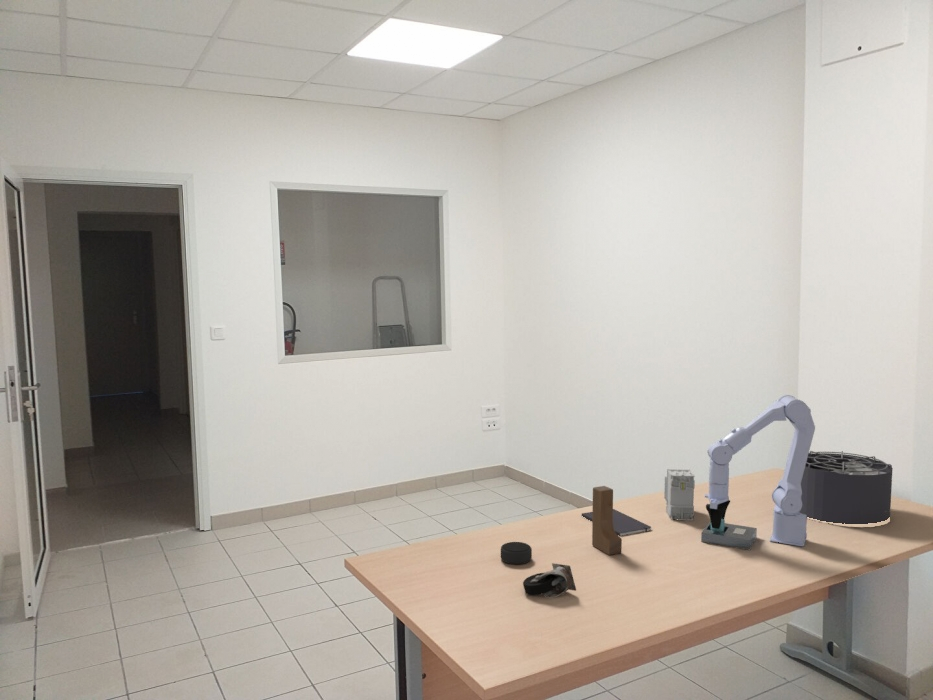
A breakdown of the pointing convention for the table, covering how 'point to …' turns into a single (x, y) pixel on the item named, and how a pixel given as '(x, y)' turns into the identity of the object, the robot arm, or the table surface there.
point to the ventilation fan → (846, 488)
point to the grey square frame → (730, 536)
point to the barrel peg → (720, 526)
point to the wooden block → (604, 522)
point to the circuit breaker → (679, 494)
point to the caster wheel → (550, 582)
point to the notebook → (623, 523)
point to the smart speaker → (516, 553)
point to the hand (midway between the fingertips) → (717, 525)
